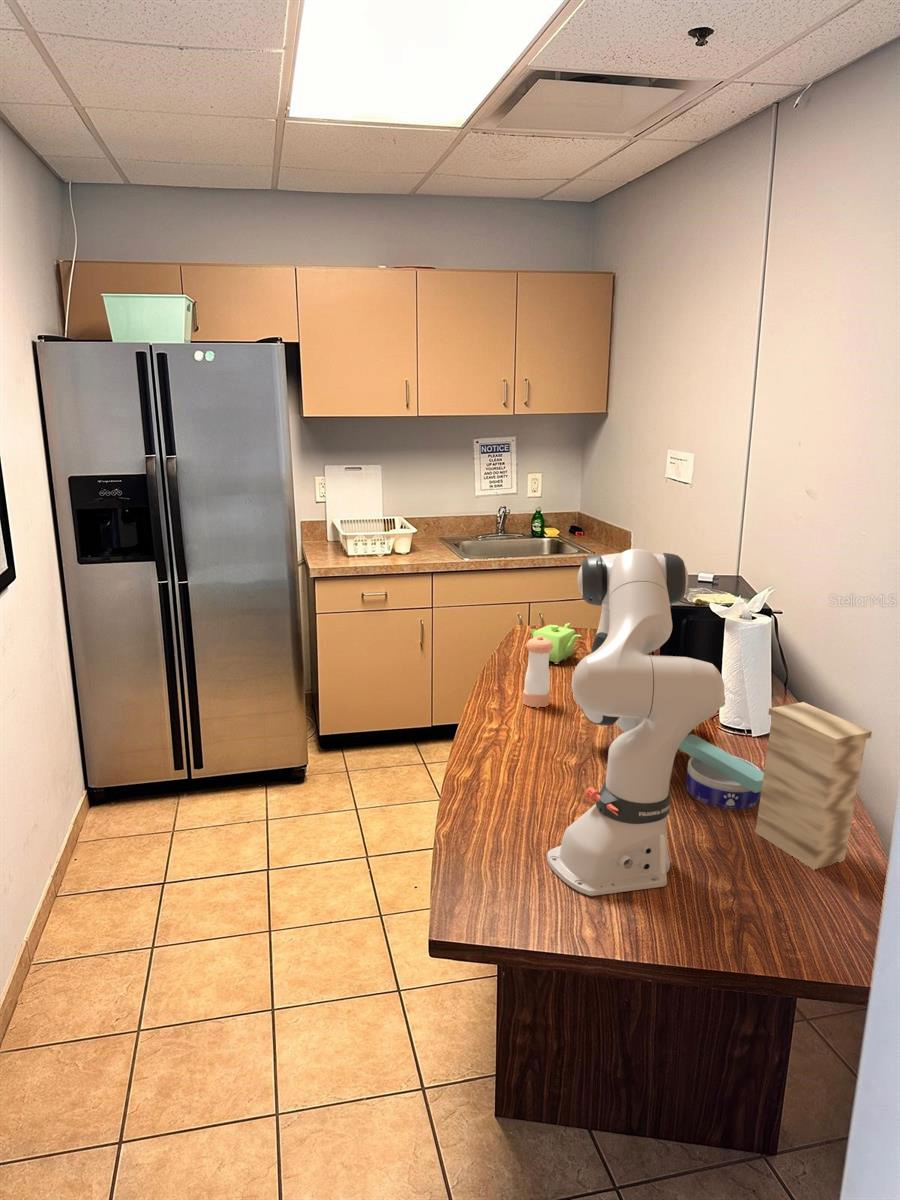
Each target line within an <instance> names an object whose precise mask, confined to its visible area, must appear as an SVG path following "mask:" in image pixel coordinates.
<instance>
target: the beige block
mask: <svg viewBox="0 0 900 1200" xmlns="http://www.w3.org/2000/svg"><path fill="white" fill-rule="evenodd" d="M768 715H769V716H771V721H770V728H769V735H768V743H767V749H766V756H765V762H764V763H765V764H764V771H763V772H764V776H763V783H762V790H761V791H760V796H759V806H758V812H757V819H756V824H755V832H754V833H755V834H756V835H758V836H760V837H762V839H765V840H766V841H767V842H769V843H770V844H773V846H775V847H777V848H778V849H780V850H781V849H782V851H783V852H785V853H786V854H788V855H789V856H791V857H792V856H793V857H792V858H794V859H795V858H796V860H797V859H798V860H799V861H798V860H797V861H798V862H800V863H802V864H803V863H804V864H803V865H805V866H806V865H807V866H806V867H808V866H809V867H811V868H812V869H814V870H813V871H816V870H815V869H817V870H819V869H818V868H820V869H822V868H821V867H823V868H825V867H824V866H827V865H830V864H833V863H835V862H839V861H841V860H845V861H846V855H847V850H848V849H847V848H848V843H849V839H850V838H849V837H850V833H851V826H852V819H853V816H854V815H853V814H854V810H855V804H856V798H857V792H858V786H859V782H860V781H859V779H860V775H861V770H862V764H863V758H864V753H865V748H866V741H867V739H871V738H872V733H873V732H872V731H871V730H869V729H866V728H864V727H862V726H860V725H858V724H855V723H853V722H850V721H848V720H846V719H844V718H842V717H839V716H838V715H835V714H832V713H829V712H828V711H825V710H824V709H821V708H818V707H816V706H813V705H811V704H809V703H807V702H804V701H802V702H797V703H796V702H795V703H792V704H785V705H781V706H774V707H769V708H768ZM833 865H834V864H833ZM830 866H831V865H830ZM809 867H808V868H809ZM827 867H828V866H827ZM811 868H810V869H811ZM812 869H811V870H812Z"/></svg>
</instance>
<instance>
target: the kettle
mask: <svg viewBox="0 0 900 1200" xmlns="http://www.w3.org/2000/svg"><path fill="white" fill-rule="evenodd" d="M570 625H571V623H570V622H568V623H565V624H564V626H559V625H557V624H547V625H545V626H543V627H541V628H539V629H536V628H532V629H530V630H529V632H530V633H531V636H532V638H536V637H538V636H542V637H543V638H546V639H548V640H550V641H551V643H552V645H553V648H552V650H551V652H549V662H554V663H559V664H560V662H561V661H564V660H563V659H566V658H567V659H568V658H569V657H571V656H572V655H574V647H575V643H576V641H577V639H578V638H580V637H582V636H583V635H581V634H575V633H576V630H575V629H572V628H569V627H570Z"/></svg>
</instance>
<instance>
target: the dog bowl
mask: <svg viewBox="0 0 900 1200" xmlns="http://www.w3.org/2000/svg"><path fill="white" fill-rule="evenodd" d="M733 756H734V757H736V758H738V759H740V760H742V761H743V762H745V763H747V764H749V765H751V766H753V767H754V768H756V769H758V770H760V771H762V770H761V769H760V767H758V766H757V765H756V764H754V763H752V762H750V761H749V760H746V759H745V758H742V757H740V756H739V757H738V756H735V755H733ZM687 762H688V763H687V770H686V781H685V788H686V791H687V793H688V794H689V795H690V796H691V797H692V798H694V799H695V800H696V801H699V802H701V803H702V802H703V804H705V805H707V804H708V805H707V806H710V805H711V807H713V806H716V807H715V808H717V807H719V808H718V809H722V808H725V809H724V810H730V809H733V810H734V809H735V810H737V809H738V810H746V809H747V810H748V809H750V808H753V807H755V806H756V805H758V802H759V801H760V797H761V791H760V792H757V793H754V792H753V791H751V790H749V789H748V788H746V787H744V786H742V785H741V784H739V783H737V782H735V781H734V780H732V779H730V778H728V777H727V776H725V775H723V774H722V773H720V772H718V771H716V770H715V769H713V768H711V767H709V766H708V765H706V764H704V763H703V762H701V761H699V760H697V759H696V758H694V757H692V756H690V758H689V759H688V761H687ZM735 810H734V811H735Z"/></svg>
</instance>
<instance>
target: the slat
mask: <svg viewBox="0 0 900 1200" xmlns="http://www.w3.org/2000/svg"><path fill="white" fill-rule="evenodd" d="M678 750H680V751H681V752H684V753H685V754H687V755H689V756H690V757H694V758H696V759H697V760H699V761H701V762H703V763H704V764H706V765H708V766H709V767H711V768H713V769H715V770H716V771H718V772H720V773H722V774H723V775H725V776H727V777H728V778H730V779H732V780H734V781H735V782H737V783H739V784H741V785H742V786H744V787H746V788H748V789H749V790H751V791H753V792H754V793H757V792H760V793H761V790H762V783H763V776H764V771H762V770H761V769H760V770H761V771H760V770H758V769H756V768H754V767H753V766H751V765H749V764H747V763H745V762H743V761H742V760H740V759H738V758H736V757H737V756H736V757H734V756H735V755H732V754H731V753H729V752H727V751H725V750H724V749H721V748H720V747H717V746H715V745H714V744H712V743H710V742H708V741H706V740H705V739H703V738H701V737H700V736H697V735H696V734H694V733H693V734H692V733H691V734H688V735H687V736H686V737H685V738H684V740H683V741H682V743H681V744H680V746H679V748H678Z"/></svg>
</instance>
